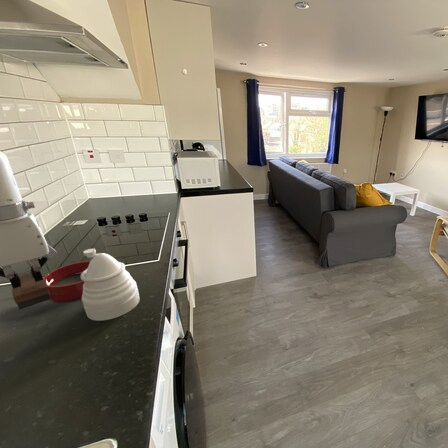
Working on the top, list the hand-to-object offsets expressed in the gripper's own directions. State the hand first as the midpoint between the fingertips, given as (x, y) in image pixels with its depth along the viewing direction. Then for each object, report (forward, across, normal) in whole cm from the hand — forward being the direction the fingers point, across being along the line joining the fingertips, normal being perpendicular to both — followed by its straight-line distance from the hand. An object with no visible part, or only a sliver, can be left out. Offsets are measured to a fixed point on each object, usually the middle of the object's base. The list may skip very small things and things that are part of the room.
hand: (30, 287), depth 60 cm
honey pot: (+14, -14, -1) cm, 20 cm away
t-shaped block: (0, 0, +3) cm, 3 cm away
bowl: (+14, -10, -19) cm, 25 cm away
